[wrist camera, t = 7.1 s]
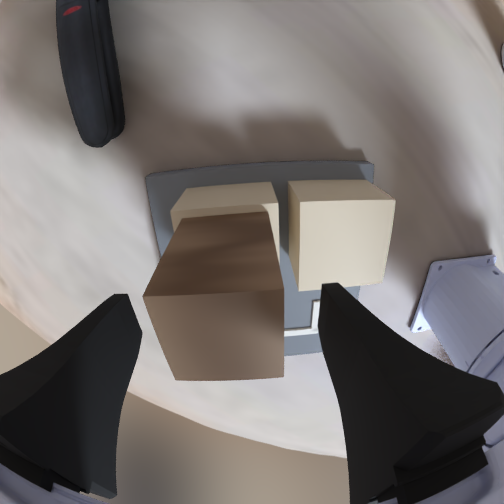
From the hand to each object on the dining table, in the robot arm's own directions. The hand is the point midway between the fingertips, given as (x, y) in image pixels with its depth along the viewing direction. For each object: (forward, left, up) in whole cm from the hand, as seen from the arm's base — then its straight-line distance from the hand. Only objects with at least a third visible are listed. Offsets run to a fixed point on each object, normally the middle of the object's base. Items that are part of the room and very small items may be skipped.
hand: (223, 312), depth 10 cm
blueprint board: (-2, +4, -9) cm, 11 cm away
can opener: (+7, -15, -10) cm, 19 cm away
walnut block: (0, 0, -4) cm, 4 cm away
